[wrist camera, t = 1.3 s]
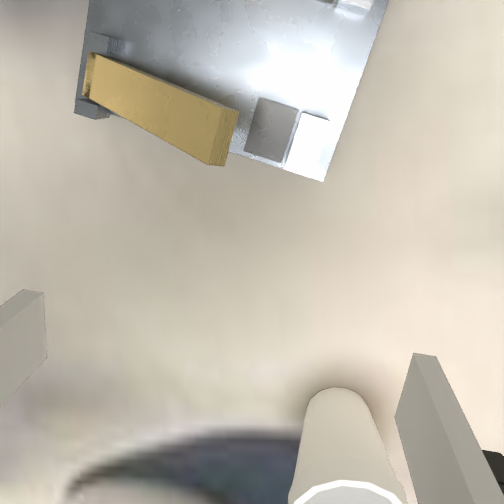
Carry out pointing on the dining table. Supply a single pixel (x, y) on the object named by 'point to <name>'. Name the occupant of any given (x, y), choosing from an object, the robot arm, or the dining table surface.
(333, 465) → the foam cup
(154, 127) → the bar
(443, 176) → the dining table surface
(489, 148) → the dining table surface
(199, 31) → the base
